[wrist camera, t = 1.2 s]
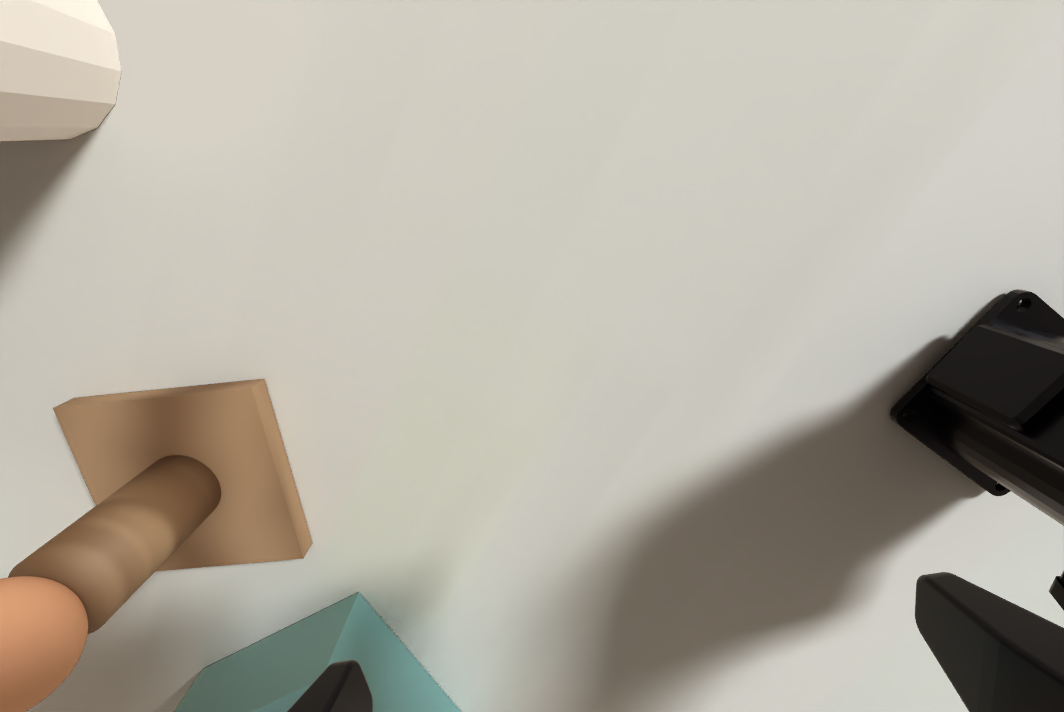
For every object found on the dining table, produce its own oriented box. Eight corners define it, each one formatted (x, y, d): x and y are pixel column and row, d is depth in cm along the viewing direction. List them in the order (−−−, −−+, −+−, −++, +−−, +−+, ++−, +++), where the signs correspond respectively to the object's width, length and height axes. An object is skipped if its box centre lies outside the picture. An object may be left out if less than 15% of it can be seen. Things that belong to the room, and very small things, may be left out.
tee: (264, 378, 21) (139, 470, 14) (312, 543, 24) (225, 685, 17) (74, 398, 21) (-134, 497, 15) (142, 557, 24) (-9, 703, 17)
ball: (137, 586, 16) (26, 699, 12) (95, 660, 17) (-18, 784, 13) (17, 528, 15) (-135, 630, 12) (-19, 608, 16) (-169, 725, 13)
